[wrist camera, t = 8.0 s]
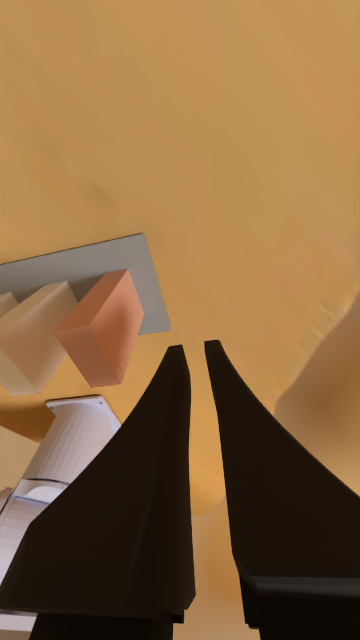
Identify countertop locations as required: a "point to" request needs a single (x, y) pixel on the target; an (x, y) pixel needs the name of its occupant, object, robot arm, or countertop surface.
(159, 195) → the countertop surface
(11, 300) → the domino
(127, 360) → the domino
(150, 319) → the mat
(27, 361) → the domino
